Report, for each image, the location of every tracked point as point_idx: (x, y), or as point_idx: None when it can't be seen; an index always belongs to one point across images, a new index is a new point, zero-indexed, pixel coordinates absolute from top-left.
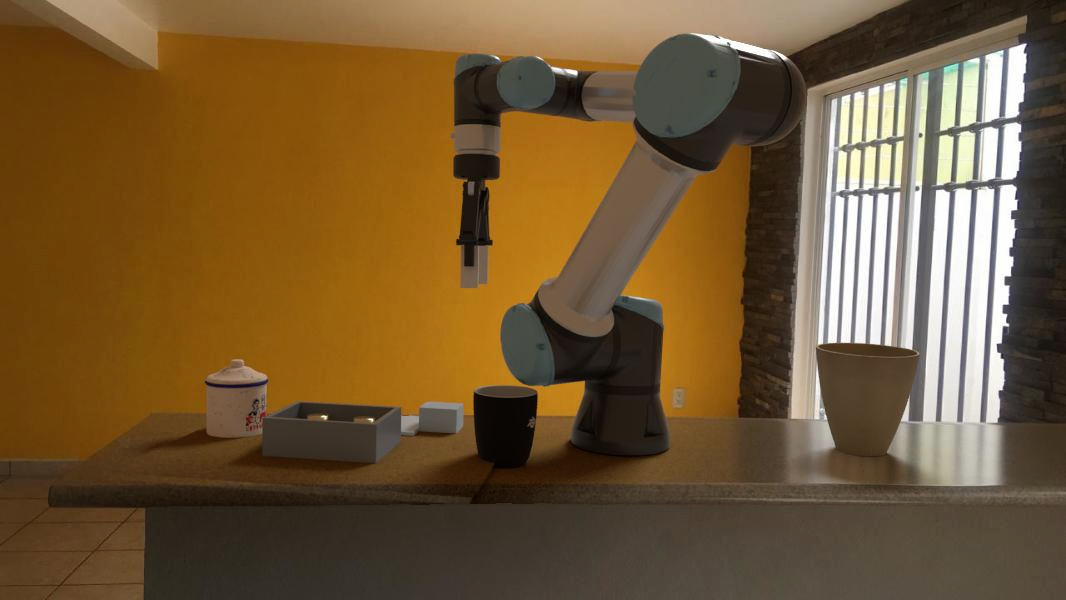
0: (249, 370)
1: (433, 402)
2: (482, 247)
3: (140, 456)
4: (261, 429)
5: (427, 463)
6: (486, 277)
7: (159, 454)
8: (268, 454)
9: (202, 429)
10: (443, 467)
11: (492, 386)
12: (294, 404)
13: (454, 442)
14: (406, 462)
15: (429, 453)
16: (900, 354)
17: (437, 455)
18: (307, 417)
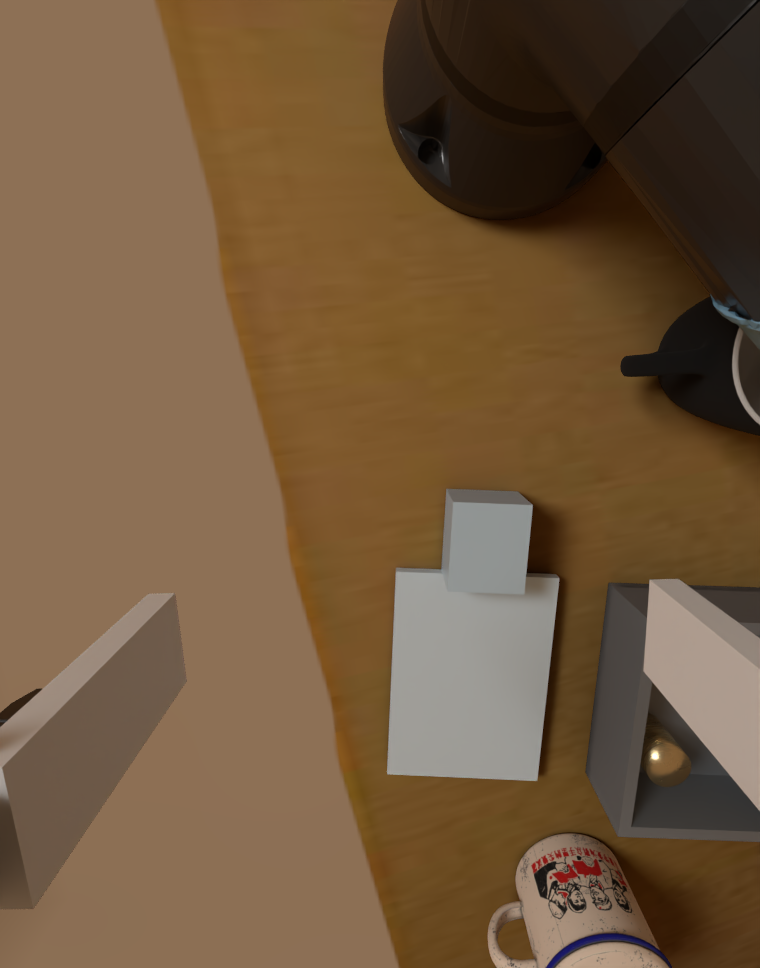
0: None
1: (456, 575)
2: (28, 805)
3: (720, 948)
4: (586, 846)
5: (725, 506)
6: (159, 618)
7: (706, 930)
8: None
9: (527, 939)
10: (751, 471)
11: (746, 400)
12: (654, 830)
13: (551, 487)
14: (721, 546)
15: (649, 518)
16: None
17: (663, 500)
18: (680, 781)
